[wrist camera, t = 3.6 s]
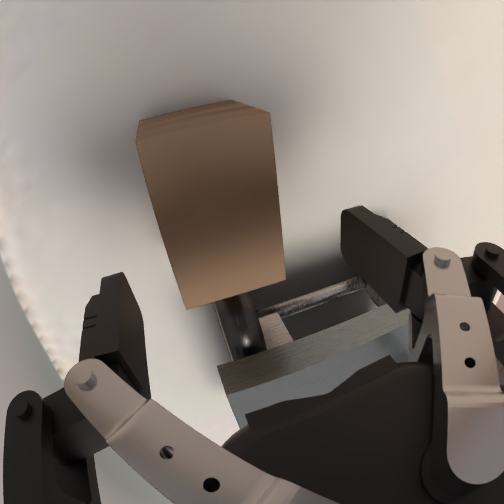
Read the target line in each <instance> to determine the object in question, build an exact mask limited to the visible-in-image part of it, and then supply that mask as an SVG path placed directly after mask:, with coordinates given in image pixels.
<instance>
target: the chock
mask: <svg viewBox="0 0 504 504" xmlns="http://www.w3.org/2000/svg"><path fill="white" fill-rule="evenodd" d="M136 146H137V150H138V154H139V158H140V162H141V166H142V169H143V173H144V177H145V181H146V184H147V188H148V191H149V195H150V198H151V202H152V205H153V209H154V212H155V216H156V219H157V222H158V226H159V229H160V232H161V235H162V239H163V242H164V245H165V248H166V251H167V254H168V257H169V261H170V264H171V267H172V270H173V273H174V276H175V279H176V281H177V284H178V287H179V290H180V293H181V296H182V299H183V302H184V304H185V307H186V310H187V309H191V308H194V307H198V306H201V305H205V304H208V303H212V302H215V301H218V300H222V299H225V298H228V297H232V296H235V295H238V294H242V293H245V292H248V291H252V290H255V289H258V288H261V287H265V286H268V285H271V284H274V283H277V282H281V281H284V280H286V275H285V263H284V251H283V239H282V227H281V216H280V206H279V195H278V185H277V175H276V165H275V155H274V146H273V137H272V128H271V119H270V113H269V112H266V111H263V110H260V109H257V108H254V107H251V106H248V105H245V104H242V103H239V102H236V101H232V100H229V101H223V102H218V103H213V104H208V105H203V106H198V107H194V108H189V109H185V110H180V111H176V112H172V113H168V114H164V115H160V116H156V117H152V118H149V119H145V120H141V121H140V122H139V127H138V132H137V137H136Z"/></svg>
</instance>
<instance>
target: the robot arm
mask: <svg viewBox="0 0 504 504" xmlns="http://www.w3.org/2000/svg"><path fill="white" fill-rule="evenodd" d="M340 246H341V252H342V255H343V257H344V259H345V261H346V262H347V263H348V264H349V265H350V266H351V267H352V268H353V269H354V270H355V271H356V272H357V273H358V274H359V275H360V276H361V277H362V278H363V279H364V280H365V281H366V282H367V283H368V284H369V285H370V286H371V287H372V288H373V290H374V291H375V292H376V293H377V294H378V295H379V296H380V297H381V298H382V299H383V300H384V301H385V302H386V303H387V304H388V305H389V306H390V308H391V309H392V310H393V311H394V312H395V313H398V312H401V311H403V310H405V309H407V308H408V309H409V310H410V314H409V358H408V362H401V363H396V362H395V361H394V359H393V358H392V357H391V356H390V355H388V356H386V357H384V358H382V359H380V360H378V361H376V362H374V363H372V364H370V365H367V366H365V367H363V368H361V369H359V370H358V371H356V372H355V373H354V374H353V375H351V376H350V377H349V378H348V379H346V380H345V381H344V382H342V383H341V384H340V385H339V386H337V387H336V388H335V389H333V390H332V391H331V392H329V393H327V394H324V395H318V396H312V397H306V398H300V399H293V400H286V401H282V402H279V403H276V404H274V405H271V406H268V407H265V408H262V409H259V410H256V411H253V412H250V413H247V414H245V417H246V420H247V423H248V425H246V426H245V427H243V428H241V429H240V430H238V431H237V432H236V433H235V434H233V435H232V436H231V437H230V438H229V439H228V440H227V441H226V442H225V443H224V444H223V445H222V447H221V446H219V445H217V444H216V443H214V442H213V441H211V440H210V439H208V438H207V437H205V436H204V435H202V434H200V433H199V432H198V431H196V430H195V429H193V428H192V427H190V426H189V425H187V424H186V423H184V422H183V421H182V420H180V419H179V418H177V417H176V416H175V415H173V414H172V413H171V412H169V411H168V410H166V409H165V408H164V407H162V406H161V405H160V404H159V403H157V402H156V401H154V400H153V399H151V393H150V385H149V376H148V368H147V358H146V348H145V336H144V324H143V318H142V314H141V311H140V308H139V306H138V303H137V301H136V299H135V297H134V295H133V292H132V290H131V288H130V286H129V283H128V281H127V279H126V277H125V275H124V273H123V272H120V273H117V274H113V275H110V276H106V277H103V278H102V280H101V287H100V294H97V295H94V296H92V297H91V299H90V301H89V302H88V304H87V306H86V307H85V314H84V321H83V330H82V336H81V345H80V354H79V363H77V364H76V365H74V366H73V367H72V368H71V369H70V370H69V372H68V373H67V375H66V378H65V381H64V387H63V388H62V389H60V390H59V391H57V392H55V393H53V394H51V395H49V396H47V397H45V398H42V397H41V396H39V394H38V393H36V392H34V391H30V390H28V391H24V392H21V393H19V394H18V395H17V396H16V397H15V398H14V399H13V400H12V401H11V403H10V405H9V407H8V410H7V416H6V426H5V439H4V456H3V457H4V459H3V495H4V504H101V500H100V494H99V489H98V483H97V476H96V469H95V462H94V454H95V453H96V452H98V451H100V450H102V449H104V448H106V447H108V446H110V447H111V448H112V449H113V450H114V451H115V452H116V453H117V454H118V455H119V456H120V457H121V458H122V459H123V460H124V461H125V462H126V463H127V464H128V465H129V466H131V467H132V468H133V469H134V470H135V471H136V472H137V473H138V474H139V475H140V476H142V477H143V478H144V479H145V480H146V481H147V482H148V483H149V484H150V485H152V486H153V487H154V488H155V489H156V490H157V491H159V492H160V493H161V494H162V495H164V496H165V497H166V498H167V499H168V500H170V501H171V502H172V503H174V504H504V386H503V385H500V383H499V376H498V370H497V364H496V358H497V359H498V360H499V362H500V363H501V364H502V365H503V367H504V314H503V313H502V312H501V311H500V310H499V309H498V308H497V307H496V306H495V305H494V304H493V303H492V302H493V299H494V297H495V294H496V292H497V289H498V290H499V291H500V292H501V293H502V294H503V295H504V250H503V249H502V248H501V247H499V246H497V245H495V244H492V243H488V242H482V243H479V244H477V245H476V247H475V250H474V254H473V256H472V257H464V258H459V256H458V255H457V254H455V253H454V252H452V251H451V250H448V249H445V248H440V247H434V248H430V249H428V248H427V247H425V246H424V245H423V244H421V243H420V242H419V241H417V240H416V239H415V238H413V237H412V236H411V235H409V234H408V233H407V232H404V230H402V229H401V228H400V227H397V225H396V224H394V223H393V222H391V221H390V220H389V219H386V218H384V217H381V216H378V215H375V214H374V213H372V212H371V211H369V210H368V209H366V208H365V207H364V206H356V207H353V208H349V209H345V210H343V211H342V213H341V243H340ZM495 357H496V358H495Z"/></svg>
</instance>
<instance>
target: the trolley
mask: <svg viewBox="0 0 504 504" xmlns="http://www.w3.org/2000/svg"><path fill="white" fill-rule="evenodd" d="M364 288H366V291H367V293H368V294H369V296H370V297H371V299H372V300H373V301H374V303H375V304H376V305H377V306H378V308H376V309H373V310H371V311H369V312H366V313H364V314H362V315H359V316H357V317H354V318H352V319H350V320H347V321H345V322H342V323H340V324H337V325H335V326H332V327H330V328H327V329H324V330H322V331H319V332H317V333H314V334H311V335H309V336H306V337H303V338H300V339H298V340H295V341H293V339H292V337H291V336H290V334H289V332H288V330H287V328H286V327H285V325H284V323H283V321H282V320H281V318H284V317H287V316H290V315H293V314H296V313H299V312H302V311H304V310H307V309H310V308H313V307H316V306H318V305H321V304H324V303H327V302H329V301H332V300H335V299H337V298H340V297H343V296H345V295H348V294H351V293H353V292H356V291H358V290H361V289H364ZM213 304H214V307H215V311H216V314H217V317H218V320H219V324H220V327H221V330H222V333H223V336H224V339H225V342H226V345H227V348H228V351H229V354H230V357H231V359H232V362H229V363H226V364H223V365H219V366H217V368H218V371H219V374H220V377H221V380H222V384H223V387H224V390H225V393H226V396H227V398H228V401H229V403H230V406H231V408H232V411H233V413H234V416H235V418H236V420H237V423H238V425H239V428H240V429H241V428H243V427H245V426H246V425H248V423H247V420H246V417H245V414H247V413H250V412H253V411H256V410H259V409H262V408H265V407H268V406H271V405H274V404H276V403H279V402H282V401H286V400H293V399H300V398H306V397H312V396H318V395H324V394H327V393H329V392H331V391H332V390H333V389H335V388H336V387H337V386H339V385H340V384H341V383H342V382H344V381H345V380H346V379H348V378H349V377H350V376H351V375H353V374H354V373H355V372H356V371H358V370H359V369H361V368H363V367H365V366H367V365H370V364H372V363H374V362H376V361H378V360H380V359H382V358H384V357H386V356H388V355H390V356H391V357H392V358H393V359H394V361H395V362H396V363H401V362H408V358H409V314H410V310H409V309H408V308H407V309H405V310H403V311H401V312H398V313H395V312H394V311H393V310H392V309H391V308H390V306H389V305H388V304H387V303H386V302H385V301H384V300H383V299H382V298H381V297H380V296H379V295H378V294H377V293H376V292H375V291H374V290H373V288H372V287H371V286H370V285H369V284H368V283H367V282H366V281H365V280H364V279H363V278H362V277H361V276H360V275H359V276H356V277H353V278H351V279H348V280H345V281H342V282H340V283H337V284H334V285H331V286H328V287H326V288H323V289H320V290H317V291H314V292H311V293H308V294H305V295H302V296H299V297H296V298H294V299H291V300H288V301H285V302H282V303H278V304H275V305H272V306H269V307H266V308H263V309H260V310H257V311H256V310H255V307H254V304H253V301H252V299H251V296H250V294H249V292H245V293H242V294H238V295H235V296H232V297H228V298H225V299H222V300H218V301H215V302H213ZM495 358H496V357H495ZM496 364H497V370H498V376H499V383H500V385H503V386H504V367H503V365H502V364H501V363H500V362H499V360H498V359H497V358H496Z"/></svg>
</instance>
